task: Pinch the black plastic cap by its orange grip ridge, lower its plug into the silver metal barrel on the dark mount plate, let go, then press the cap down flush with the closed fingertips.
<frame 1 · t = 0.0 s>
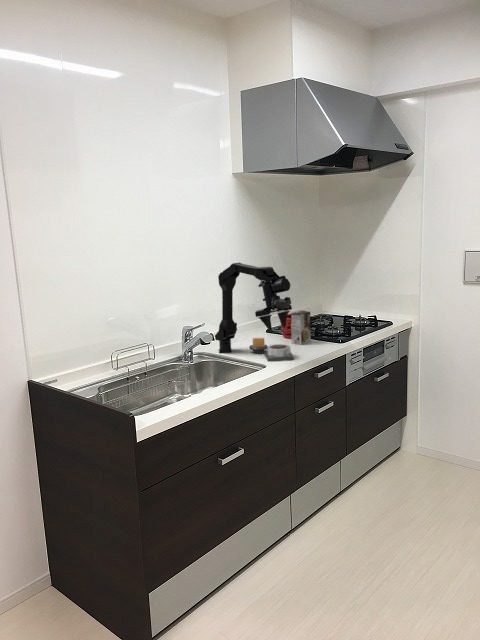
hand: (277, 329, 241), 15 cm above the counter, tool pointing down, fingers open, 9 cm apart
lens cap: (258, 352, 265), on the counter
plant pot: (292, 337, 295), on the counter
coffee box: (301, 343, 281), on the counter
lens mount: (278, 357, 254), on the counter
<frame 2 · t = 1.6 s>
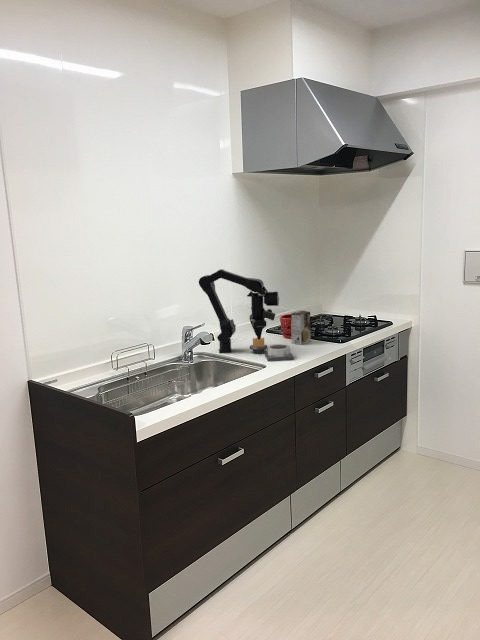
hand: (258, 337, 263), 7 cm above the counter, tool pointing down, fingers open, 9 cm apart
nothing on the counter moved.
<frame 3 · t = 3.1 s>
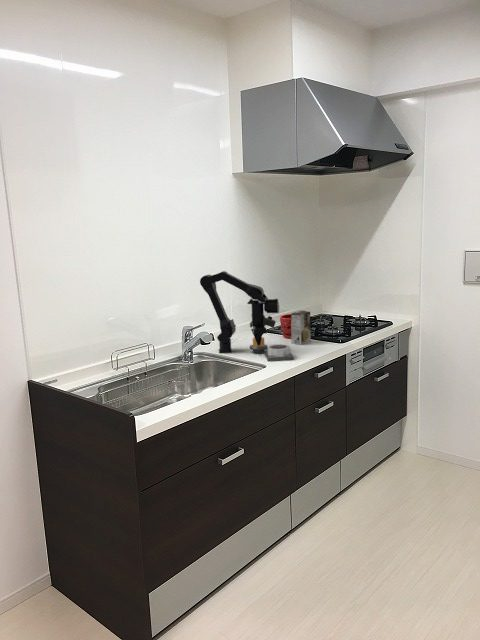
hand: (258, 344, 264), 4 cm above the counter, tool pointing down, fingers closed on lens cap, 2 cm apart
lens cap: (258, 352, 265), on the counter, touching gripper
everything else where it was.
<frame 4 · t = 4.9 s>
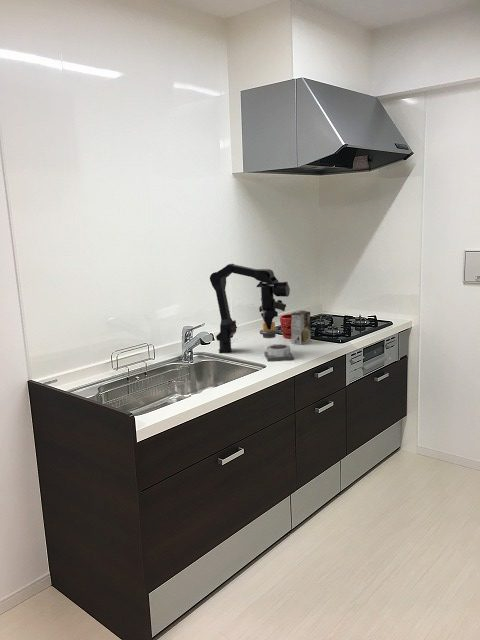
hand: (268, 329, 257), 13 cm above the counter, tool pointing down, fingers closed on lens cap, 2 cm apart
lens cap: (269, 336, 258), point 9 cm above the counter, touching gripper
everything else where it was.
when the fingers open (8 cm above the counter, at t = 6.5 s): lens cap stays where it is, resting on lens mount.
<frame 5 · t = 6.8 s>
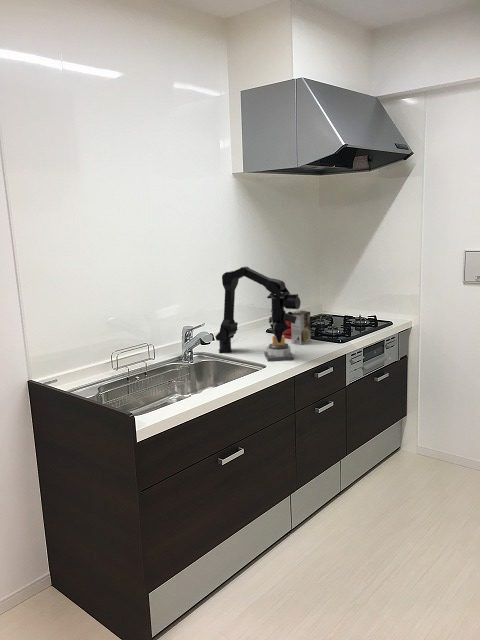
hand: (278, 341, 252), 8 cm above the counter, tool pointing down, fingers open, 6 cm apart
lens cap: (278, 351, 253), point 3 cm above the counter, touching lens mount
everything else where it was.
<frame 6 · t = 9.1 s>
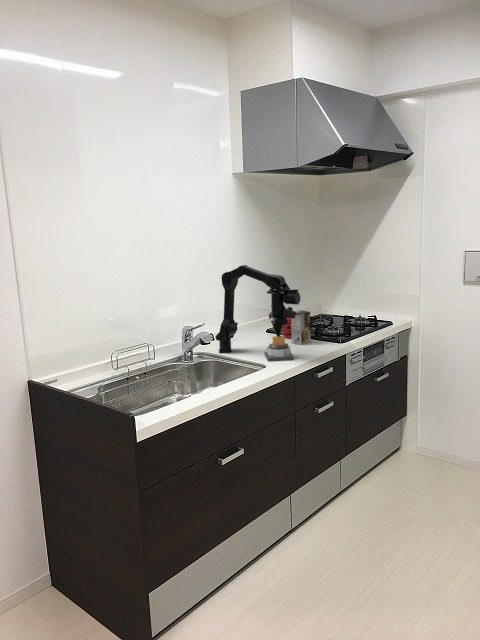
hand: (278, 336, 252), 10 cm above the counter, tool pointing down, fingers closed, pressing on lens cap
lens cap: (278, 351, 253), point 3 cm above the counter, touching gripper, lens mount
everything else where it was.
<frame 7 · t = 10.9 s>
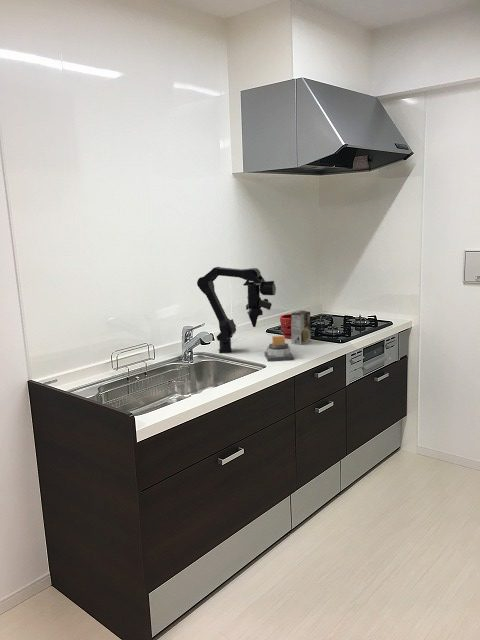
hand: (254, 326, 261), 13 cm above the counter, tool pointing down, fingers closed
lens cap: (278, 351, 253), point 3 cm above the counter, touching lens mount
everything else where it was.
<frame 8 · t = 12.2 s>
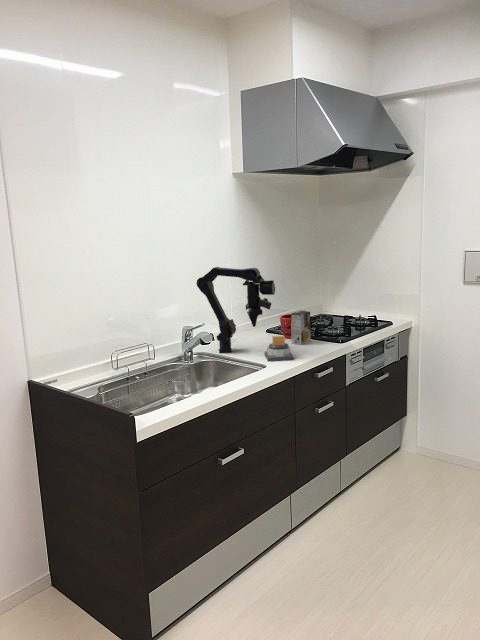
hand: (254, 326, 261), 13 cm above the counter, tool pointing down, fingers closed
nothing on the counter moved.
at the end: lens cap 0.0 cm off-centre on the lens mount, point 3.0 cm above the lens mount's base; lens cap tilted 0°; the gripper is holding nothing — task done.
